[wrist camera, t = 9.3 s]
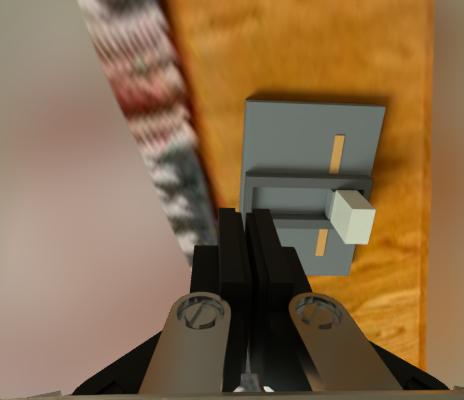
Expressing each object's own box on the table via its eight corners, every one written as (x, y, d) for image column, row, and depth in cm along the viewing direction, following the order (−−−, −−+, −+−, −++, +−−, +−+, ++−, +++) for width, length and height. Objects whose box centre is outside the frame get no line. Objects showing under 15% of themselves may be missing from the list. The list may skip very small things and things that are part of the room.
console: (245, 99, 38) (248, 104, 35) (377, 104, 39) (392, 109, 36) (235, 265, 47) (237, 281, 44) (343, 266, 48) (352, 282, 44)
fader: (329, 184, 40) (349, 209, 34) (354, 185, 40) (378, 209, 34) (323, 215, 42) (342, 243, 36) (348, 215, 42) (370, 244, 36)
